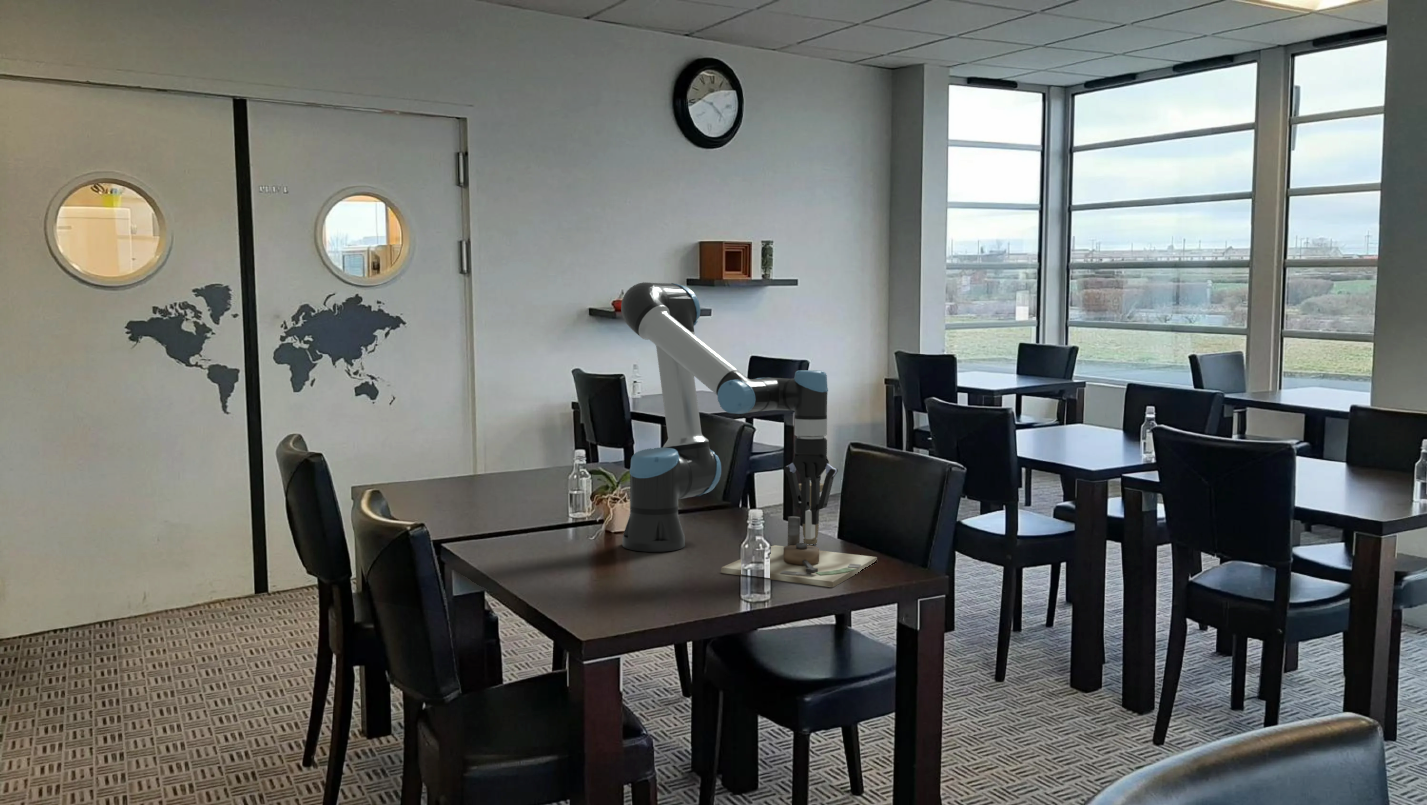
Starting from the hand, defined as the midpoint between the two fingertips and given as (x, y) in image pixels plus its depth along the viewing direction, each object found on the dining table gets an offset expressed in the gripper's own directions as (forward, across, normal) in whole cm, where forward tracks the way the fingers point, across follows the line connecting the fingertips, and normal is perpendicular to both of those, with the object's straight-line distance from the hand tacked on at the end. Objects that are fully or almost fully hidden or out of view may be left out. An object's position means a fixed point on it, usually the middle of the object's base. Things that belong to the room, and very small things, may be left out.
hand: (810, 538), depth 258 cm
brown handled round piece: (+3, -2, +11) cm, 11 cm away
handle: (+5, +6, -15) cm, 17 cm away
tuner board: (+5, -2, +10) cm, 11 cm away
